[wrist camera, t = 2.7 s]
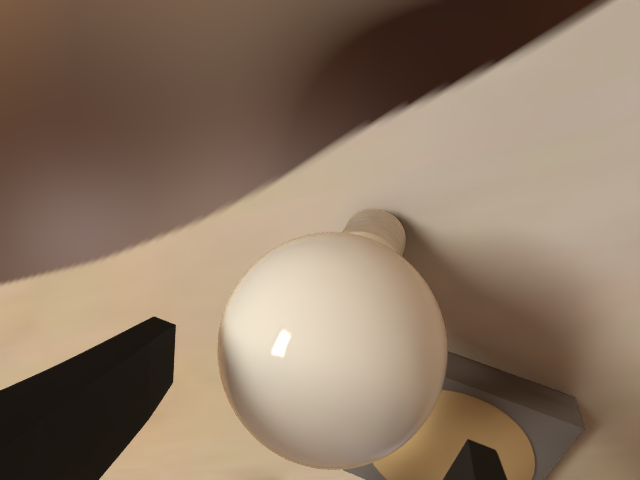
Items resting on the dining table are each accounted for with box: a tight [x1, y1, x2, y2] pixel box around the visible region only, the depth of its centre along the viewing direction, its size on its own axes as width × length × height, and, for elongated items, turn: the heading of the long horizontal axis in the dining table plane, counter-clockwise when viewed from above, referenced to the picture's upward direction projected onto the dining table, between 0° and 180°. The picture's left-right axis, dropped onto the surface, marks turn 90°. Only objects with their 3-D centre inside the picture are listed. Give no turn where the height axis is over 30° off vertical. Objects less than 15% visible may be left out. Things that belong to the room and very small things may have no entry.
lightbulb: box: [218, 209, 448, 470], centre depth 14 cm, size 6×6×11 cm
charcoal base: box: [342, 352, 585, 480], centre depth 21 cm, size 9×9×2 cm
